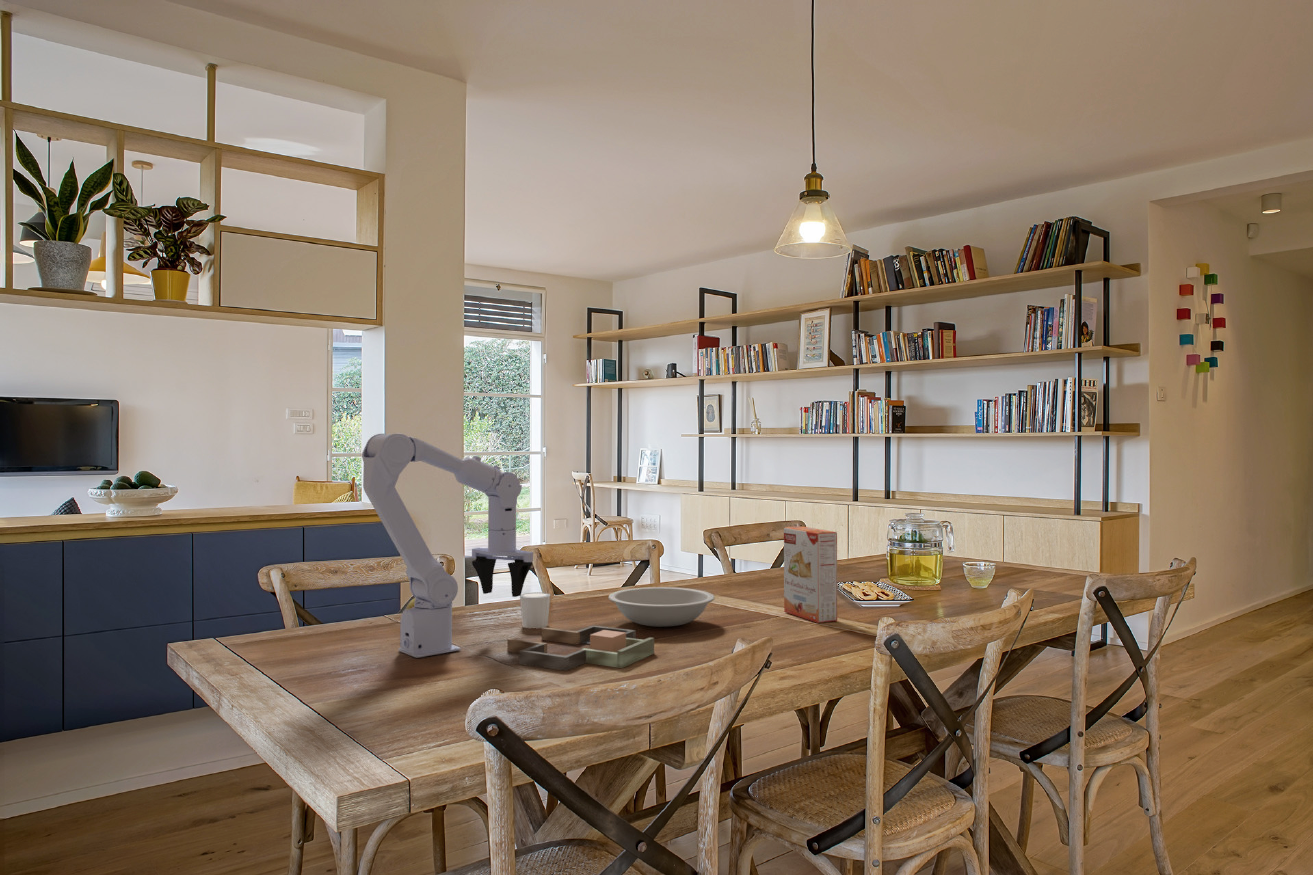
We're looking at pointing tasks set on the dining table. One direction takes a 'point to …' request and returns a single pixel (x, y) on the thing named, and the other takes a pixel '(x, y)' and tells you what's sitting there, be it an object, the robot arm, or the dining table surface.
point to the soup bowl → (661, 605)
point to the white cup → (535, 609)
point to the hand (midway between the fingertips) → (501, 594)
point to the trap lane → (539, 657)
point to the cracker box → (810, 573)
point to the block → (608, 641)
